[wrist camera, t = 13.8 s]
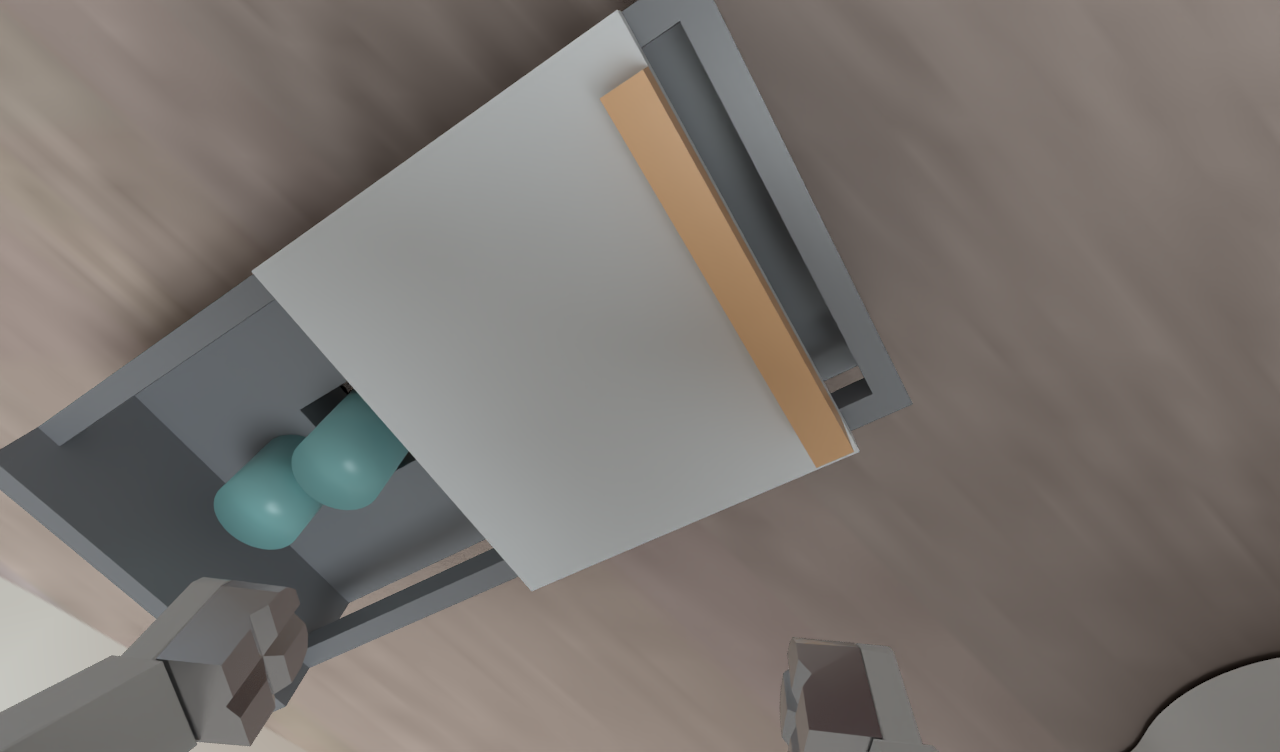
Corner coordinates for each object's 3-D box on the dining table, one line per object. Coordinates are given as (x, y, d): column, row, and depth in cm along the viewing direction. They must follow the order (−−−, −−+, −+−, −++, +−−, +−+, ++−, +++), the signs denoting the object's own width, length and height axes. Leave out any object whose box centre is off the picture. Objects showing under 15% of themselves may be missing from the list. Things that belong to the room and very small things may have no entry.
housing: (865, 324, 29) (931, 435, 21) (361, 568, 37) (270, 712, 29) (694, -19, 23) (694, -49, 15) (153, 360, 32) (-27, 467, 24)
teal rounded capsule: (453, 407, 32) (399, 488, 26) (397, 438, 33) (335, 522, 27) (404, 348, 31) (337, 420, 25) (349, 382, 32) (272, 458, 26)
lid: (853, 435, 23) (874, 488, 20) (537, 572, 27) (519, 632, 24) (621, 11, 17) (607, 6, 15) (269, 261, 21) (208, 293, 19)
